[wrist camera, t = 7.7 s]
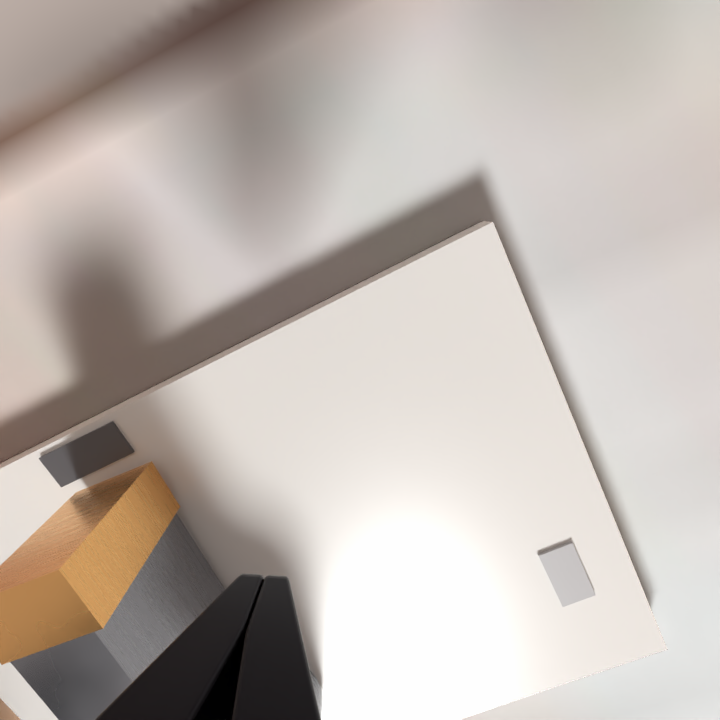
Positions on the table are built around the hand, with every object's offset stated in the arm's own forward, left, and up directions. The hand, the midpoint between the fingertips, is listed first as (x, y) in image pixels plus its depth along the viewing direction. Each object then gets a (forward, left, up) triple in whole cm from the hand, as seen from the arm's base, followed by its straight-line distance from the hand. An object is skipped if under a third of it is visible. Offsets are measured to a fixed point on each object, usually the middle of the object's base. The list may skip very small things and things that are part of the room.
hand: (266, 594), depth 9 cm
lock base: (-3, -3, -6) cm, 7 cm away
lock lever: (-5, -3, -4) cm, 7 cm away
